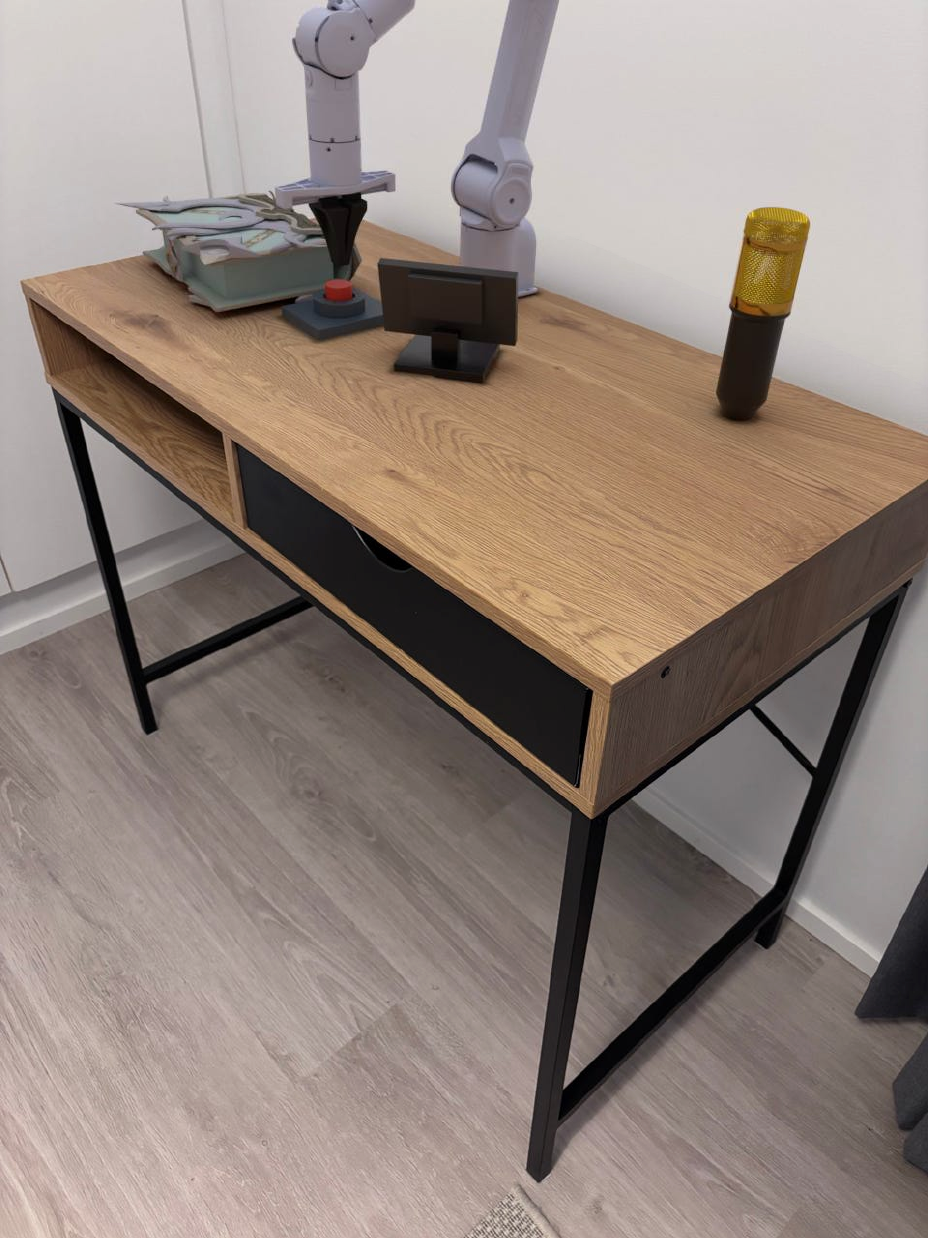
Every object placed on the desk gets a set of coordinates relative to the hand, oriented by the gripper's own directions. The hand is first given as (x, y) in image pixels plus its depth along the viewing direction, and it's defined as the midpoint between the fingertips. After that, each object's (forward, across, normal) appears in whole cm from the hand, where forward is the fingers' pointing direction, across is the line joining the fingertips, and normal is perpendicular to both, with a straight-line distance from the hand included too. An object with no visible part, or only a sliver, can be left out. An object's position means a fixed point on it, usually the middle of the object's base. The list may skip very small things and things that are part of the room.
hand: (340, 263), depth 117 cm
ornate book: (+7, +3, -20) cm, 22 cm away
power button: (+4, 0, 0) cm, 4 cm away
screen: (+4, -4, +17) cm, 18 cm away
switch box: (+7, 0, 0) cm, 7 cm away
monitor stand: (+7, -4, +17) cm, 18 cm away
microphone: (+7, -21, +41) cm, 46 cm away
